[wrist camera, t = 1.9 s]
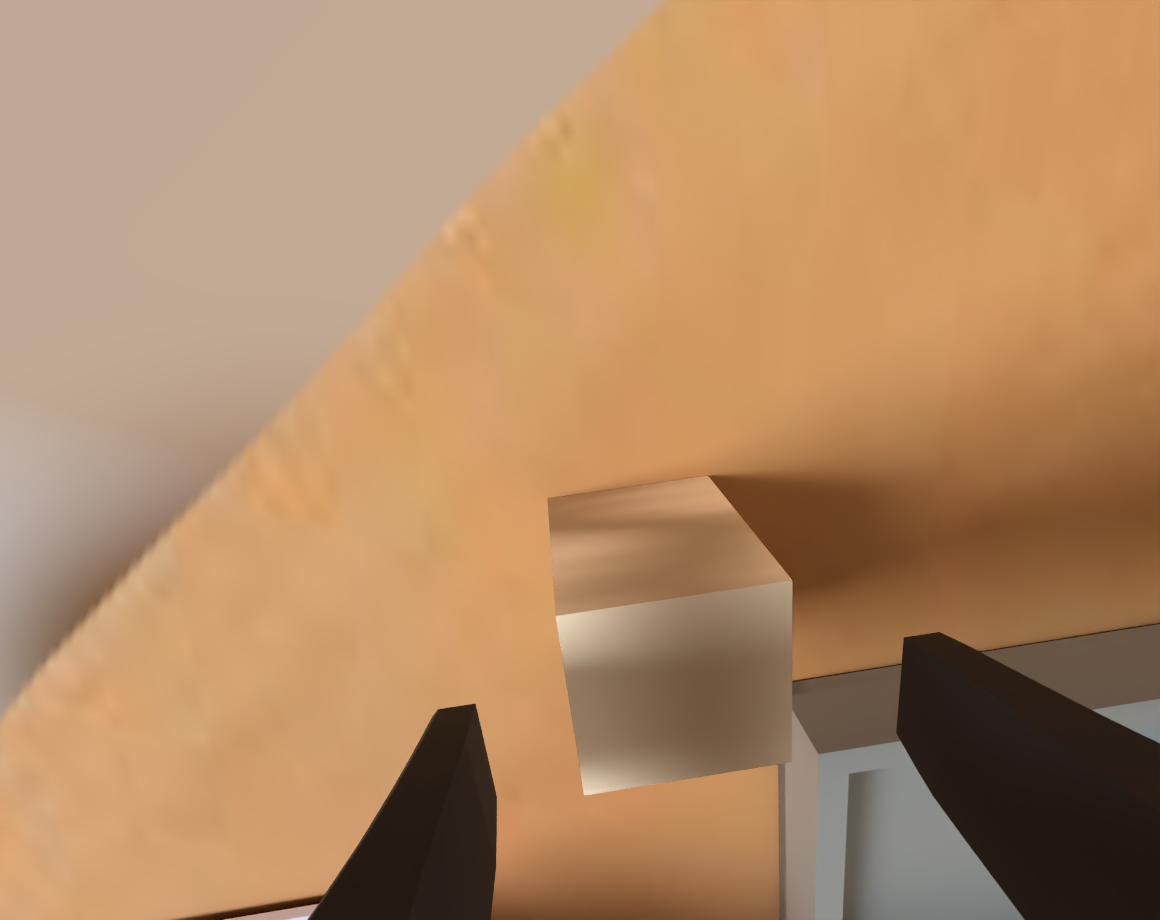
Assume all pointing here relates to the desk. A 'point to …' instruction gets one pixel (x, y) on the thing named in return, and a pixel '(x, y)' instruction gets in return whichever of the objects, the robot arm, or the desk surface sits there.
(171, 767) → the desk surface
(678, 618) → the block
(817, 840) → the tray
